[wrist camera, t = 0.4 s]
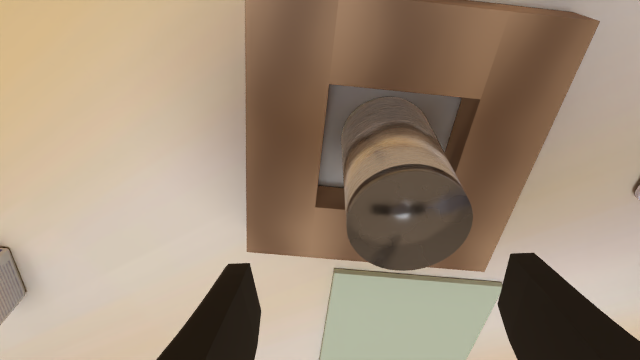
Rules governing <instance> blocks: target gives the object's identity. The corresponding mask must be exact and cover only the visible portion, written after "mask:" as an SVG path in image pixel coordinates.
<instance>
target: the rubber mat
mask: <svg viewBox="0 0 640 360" xmlns="http://www.w3.org/2000/svg"><path fill="white" fill-rule="evenodd" d="M501 289H502V283H501V282H491V281H479V280H467V279H455V278H443V277H431V276H419V275H407V274H395V273H383V272H371V271H359V270H347V269H334V273H333V279H332V285H331V292H330V298H329V304H328V310H327V316H326V322H325V328H324V334H323V340H322V346H321V352H320V358H319V360H466V359H467V357H468V355H469V353H470V351H471V349H472V348H473V346H474V344H475V342H476V340H477V338H478V336H479V334H480V332H481V330H482V328H483V326H484V324H485V322H486V320H487V318H488V317H489V315H490V313H491V311H492V309H493V307H494V305H495V303H496V301H497V299H498V297H499V295H500V293H501Z"/></svg>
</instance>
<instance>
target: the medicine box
mask: <svg viewBox="0 0 640 360" xmlns="http://www.w3.org/2000/svg"><path fill="white" fill-rule="evenodd" d="M24 296H25V289H24V286H23V283H22V281H21V278H20V275H19V273H18V270H17V268H16V265H15V263H14V260H13V257H12V255H11V253H10V251H9V249H7V248H0V325H1V324H2V323H3V321H4V320H5V319H6V318H7V317H8V315H9V314H10V313H11V312H12V311H13V310H14V308H15V307H16V306H17V305H18V303H19V302H20V301H21V300H22V298H23V297H24Z"/></svg>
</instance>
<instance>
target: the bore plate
mask: <svg viewBox="0 0 640 360" xmlns="http://www.w3.org/2000/svg"><path fill="white" fill-rule="evenodd" d="M599 22H600V21H597V20H594V19H591V18H588V17H585V16H582V15H579V14H576V13H573V12H567V11H558V10H549V9H540V8H531V7H522V6H513V5H504V4H495V3H486V2H477V1H468V0H245V56H246V203H247V252H254V253H266V254H278V255H290V256H302V257H314V258H325V259H337V260H349V261H361V262H368V261H366V260H365V259H363V258H362V257H361V256H360V255H359V254H358V253H357V252H356V251H355V250H354V248H353V247H352V245H351V244H350V241H349V239H348V235H347V227H346V210H345V194H344V188H337V187H326V186H318V178H319V169H320V160H321V151H322V142H323V133H324V125H325V116H326V107H327V98H328V89H329V84H334V85H344V86H354V87H364V88H374V89H383V90H393V91H403V92H413V93H423V94H433V95H443V96H453V97H462V100H461V103H460V106H459V109H458V113H457V116H456V119H455V122H454V125H453V129H452V132H451V135H450V138H449V141H448V145H447V148H446V151H445V155H446V157H447V159H448V161H449V163H450V165H451V166H452V168H453V170H454V172H455V174H456V176H457V178H458V180H459V182H460V184H461V186H462V188H463V189H464V191H465V193H466V195H467V197H468V199H469V201H470V204H471V206H472V211H473V221H472V227H471V230H470V232H469V234H468V236H467V238H466V240H465V241H464V243H463V244H462V245H461V246H460V247H459V249H457V250H456V251H455V252H454V253H453V254H452V255H450V256H449V257H447V258H446V259H444V260H442V261H441V262H438V263H436V264H434V265H431V266H428V267H433V268H445V269H457V270H469V271H481V272H484V271H485V269H486V267H487V265H488V263H489V261H490V258H491V256H492V254H493V252H494V250H495V248H496V245H497V243H498V241H499V239H500V237H501V235H502V232H503V230H504V228H505V226H506V224H507V222H508V219H509V217H510V215H511V213H512V211H513V209H514V206H515V204H516V202H517V200H518V198H519V196H520V193H521V191H522V189H523V187H524V185H525V183H526V180H527V178H528V176H529V174H530V172H531V170H532V167H533V165H534V163H535V161H536V159H537V157H538V154H539V152H540V150H541V148H542V146H543V144H544V141H545V139H546V137H547V135H548V133H549V131H550V128H551V126H552V124H553V122H554V120H555V118H556V115H557V113H558V111H559V109H560V107H561V105H562V102H563V100H564V98H565V96H566V94H567V92H568V89H569V87H570V85H571V83H572V81H573V79H574V76H575V74H576V72H577V70H578V68H579V66H580V64H581V61H582V59H583V57H584V55H585V53H586V51H587V48H588V46H589V44H590V42H591V40H592V38H593V35H594V33H595V31H596V29H597V27H598V25H599Z"/></svg>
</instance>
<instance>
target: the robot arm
mask: <svg viewBox="0 0 640 360" xmlns="http://www.w3.org/2000/svg"><path fill="white" fill-rule="evenodd" d="M635 196H636V197H637V198H638V199H639V200H640V185H639V187H638V188H637V190H636V192H635ZM498 307H499V310H500V314H501V317H502V320H503V324H504V327H505V330H506V333H507V336H508V339H509V341H510V344H511V346H512V348H513V351H514V353H515V355H516V357H517V359H518V360H640V341H638V340H637V339H636V338H635V337H633V336H632V335H631V334H629V333H628V332H627V331H625V330H624V329H623V328H622V327H620V326H619V325H618V324H617V323H615V322H614V321H613V320H612V319H611V318H609V317H608V316H607V315H606V314H604V313H603V312H602V311H601V310H600V309H598V308H597V307H596V306H595V305H594V304H592V303H591V302H590V301H589V300H588V299H586V298H585V297H584V296H583V295H582V294H581V293H579V292H578V291H577V290H576V289H575V288H574V287H573V286H571V285H570V284H569V283H568V282H567V281H566V280H564V279H563V278H562V277H561V276H560V275H559V274H558V273H557V272H555V271H554V270H553V269H552V268H551V267H550V266H549V265H547V264H546V263H545V262H544V261H543V260H542V259H540V258H539V257H538V256H537V255H536V254H535V253H516V254H510V258H509V262H508V266H507V269H506V273H505V277H504V281H503V285H502V289H501V293H500V297H499V301H498ZM260 317H261V308H260V304H259V300H258V296H257V292H256V288H255V283H254V279H253V275H252V271H251V267H250V263H242V264H228V265H227V266H226V267H225V269H224V270H223V272H222V273H221V275H220V276H219V278H218V279H217V281H216V282H215V283H214V285H213V286H212V288H211V289H210V291H209V292H208V294H207V295H206V296H205V298H204V299H203V301H202V302H201V303H200V305H199V306H198V308H197V309H196V310H195V312H194V313H193V314H192V316H191V317H190V318H189V320H188V321H187V322H186V324H185V325H184V326H183V328H182V329H181V330H180V331H179V333H178V334H177V335H176V336H175V338H174V339H173V340H172V341H171V343H170V344H169V345H168V346H167V347H166V349H165V350H164V351H163V352H162V354H161V355H160V356H159V357H158V358H157V360H254V358H255V354H256V349H257V344H258V335H259V327H260Z"/></svg>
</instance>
